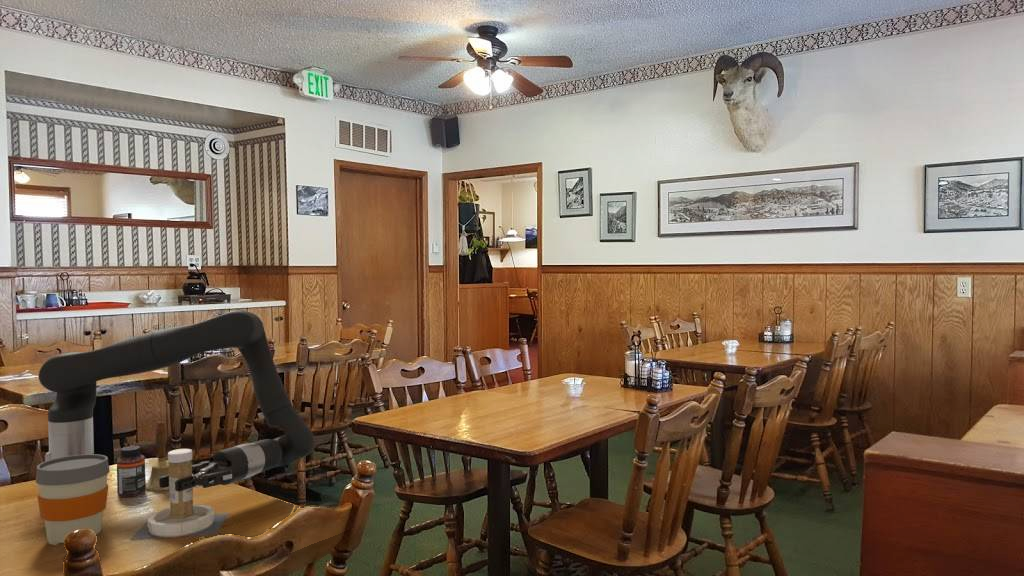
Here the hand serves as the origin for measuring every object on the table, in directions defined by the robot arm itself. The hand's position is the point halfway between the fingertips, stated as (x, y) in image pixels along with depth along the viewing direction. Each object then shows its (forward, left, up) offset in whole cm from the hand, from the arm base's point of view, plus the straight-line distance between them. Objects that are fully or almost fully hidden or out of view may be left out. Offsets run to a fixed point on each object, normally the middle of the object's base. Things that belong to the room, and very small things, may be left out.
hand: (168, 484), depth 140 cm
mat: (+2, +2, -10) cm, 10 cm away
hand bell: (-11, +34, -10) cm, 37 cm away
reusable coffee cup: (-18, +2, -10) cm, 21 cm away
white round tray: (+2, +2, -9) cm, 10 cm away
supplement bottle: (-16, +28, -10) cm, 34 cm away
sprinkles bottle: (+2, +2, -7) cm, 8 cm away
